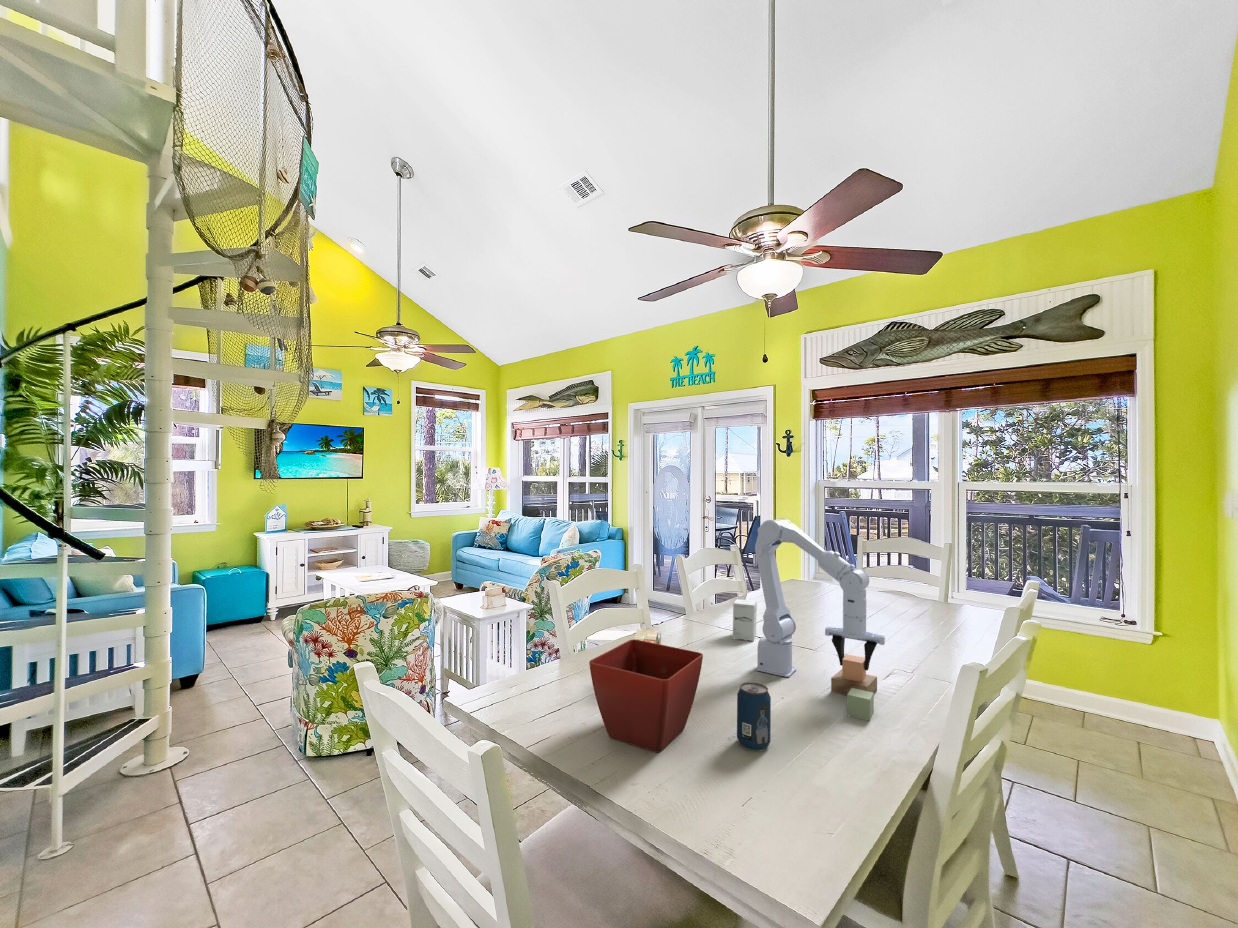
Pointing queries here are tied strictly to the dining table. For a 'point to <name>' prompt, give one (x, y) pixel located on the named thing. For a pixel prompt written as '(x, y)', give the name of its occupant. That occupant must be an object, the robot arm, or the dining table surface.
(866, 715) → the green cube
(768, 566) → the robot arm
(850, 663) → the terracotta cube
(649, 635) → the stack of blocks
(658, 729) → the plant pot
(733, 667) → the dining table surface
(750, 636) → the supplement box
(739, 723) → the soda can
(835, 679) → the walnut block
